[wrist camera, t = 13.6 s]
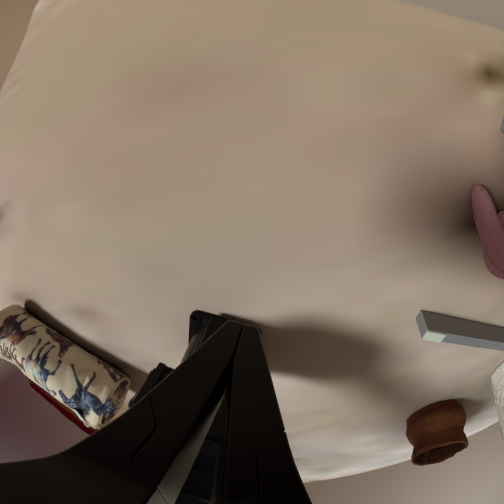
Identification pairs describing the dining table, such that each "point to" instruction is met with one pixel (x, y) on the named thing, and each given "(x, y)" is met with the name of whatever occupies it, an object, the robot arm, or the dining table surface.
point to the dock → (460, 329)
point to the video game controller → (489, 229)
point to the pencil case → (62, 367)
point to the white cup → (499, 394)
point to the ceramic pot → (437, 432)
